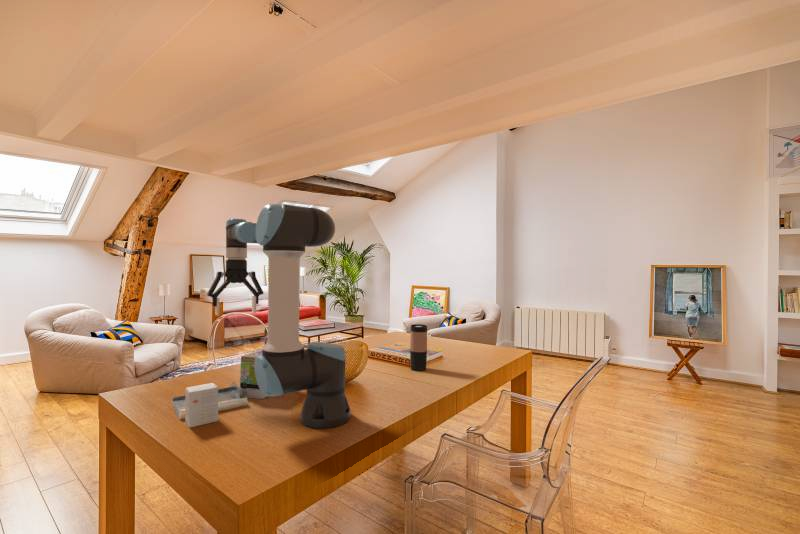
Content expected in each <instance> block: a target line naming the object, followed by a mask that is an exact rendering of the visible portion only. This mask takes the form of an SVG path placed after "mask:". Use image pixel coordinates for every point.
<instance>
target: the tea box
mask: <svg viewBox="0 0 800 534" xmlns="http://www.w3.org/2000/svg"><path fill="white" fill-rule="evenodd" d="M259 355H262V348H260V349H257V350H254V351H252V352H250V353H247V354H244V355H241V357H240V375H239V377H240V378H239V380H240V381H239V387H240V388H241V389H243V396H244V397H247V399H258V400H259V399H260V400H264V399H265V398H268V396H266V395H264V394H263V393H262V392H261V390H260V388H259V386H258V383H257V380H256V376H255V370H254V362H255V358H256V357H257V356H259Z"/></svg>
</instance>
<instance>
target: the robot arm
mask: <svg viewBox="0 0 800 534" xmlns="http://www.w3.org/2000/svg"><path fill="white" fill-rule="evenodd" d="M334 221H335V220H333V218H332V217H331V215H330V214H328V212H326V211H324V210H323V209H320V208H318V207H317V208H316V207H306V206H299V205H293V204H291V205H290V204H282V203H269V204H266V205H264V206H263V207H262V208H261V210H260V212H259V214H258V217H257V219H256V223H255V222H252V221H247V220H246V219H243V218H228V219H227V220H226V225H225V258H226V260H225V271H224V272H223V271H216V276H215V278H214V280H213V282H212V284H211V285H210V287H209V289H208V292H207V293H206V295H207V296H208V297H210V298H211V299H212V304H211V305H212V306H213V307H214V310H215V311H214V313H215V316H220V297H219V295H220V294H222V293H223V291H224V290H225V289H226V287H227V286H229V284H230V283H231V284H237V283H238V284H243V285H245V287H246V288H247V289H248V290H249V291H250V292H251V294H252V295H251V313H252V314H256V313H257V305H258V304H259V296H261V295H264V291H263V288H262V286H261V285H260V283H259V281H258V279H257V277H256V272H255V271H254V270H253V271H248V261H247V258H248V244H258V245H260V246H262V253H264V254H265V255H266V256H267V258H268V272H267V273H268V279H267V280H268V283H267V284H268V286H267V290H268V291H267V298H268V299H267V300H268V301H267V304H268V305H267V307H268V308H267V342H266V343H265V344H264V345H263V346H262V347H261V349H262V355H259V356H257V357H256V358H255V362H254V370H255V376H256V380H257V383H258V386H259V388H260V390H261V392H262V393H263V394H264V395H266V396H267V398H268V397H277V396H280V397H281V396H283V395H287V394H292V393H296V392H297V393H298V392H301V391H306V397H305V399H304V402H303V404H302V408H301V412H300V422H301V424H303V425H304V426H306V427H308V428H309V427H310V428H316V429H328V428H335V427H338V426H342V425H344V424H346V423H348V421H350V419H351V407H350V404H349V401H348V398H347V395H346V362H347V358H346V350H345V348H344V347H343V345H340V344H337V343H331V342H322V341H317V342H316V341H315V342H309V343H308V344H307V346H306V349H305V345H304V344H303V343H302V342H301V341H300V274H301V273H300V271H301V269H300V268H301V267H300V266H301V265H300V264H301V263H300V262H301V260H300V259H301V257H302V256H303V255H304V254H305V253H306V248H307V247H308V248H310V247H311V248H312V247H315V248H316V247H322V246H324V245H326V244H328V243H329V242H330V241H331V240H332V239H333V237H334V236H335V233H336V225H335V222H334ZM224 276H225V278H226V279H225V280H224V281H223V283H222V284H221V285H220V286H219V287H218V285H219V283H220V281H221V279H222V278H223V277H224ZM247 277H250V280H251V282H252V283H253V285H254V286H252V284H251V283H250V282H249V281H248V279H247ZM217 287H218V288H217ZM254 287H255V288H254ZM216 288H217V289H216Z"/></svg>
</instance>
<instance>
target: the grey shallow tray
mask: <svg viewBox="0 0 800 534" xmlns="http://www.w3.org/2000/svg"><path fill="white" fill-rule="evenodd" d="M230 384H231V385H230V386H227V387H221V388H220V387H219V388H218V412H221V411H224V410H230V409H235V408H238V407H239V408H240V407H245V406H248V398H247V397H244V396H243V389H241V388H240V385H238V384H237V383H236V382H235V381H233V382H231V383H230ZM171 399H172V401H171V403H172V408H173V410H174V412H175V413H176V416H177V417H178V419H179V420H183V419H185V394H181V395H176V396H172V397H171Z"/></svg>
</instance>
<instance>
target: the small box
mask: <svg viewBox="0 0 800 534" xmlns="http://www.w3.org/2000/svg"><path fill="white" fill-rule="evenodd" d="M218 389H219V387H218V385H217V384H215V383H214V382H211V383H204V384H199V385H194V386H187V387H185V390H184V391H185V394H184V395H185V418H184V419H185V424H186V425H187V427H188V428H189V429H191V428H195V427H198V426H202V425H203V426H204V425H207V424H211V423H216V422H218V421H219V411H218Z"/></svg>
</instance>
